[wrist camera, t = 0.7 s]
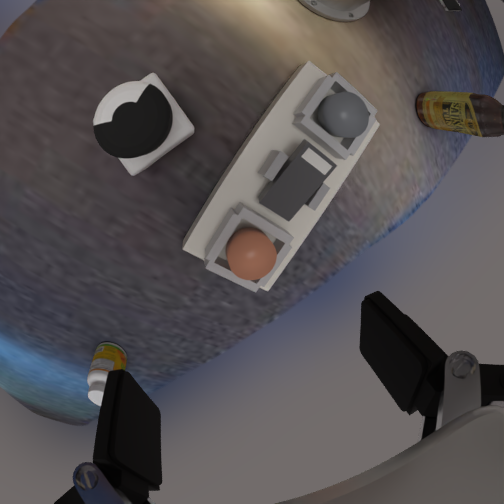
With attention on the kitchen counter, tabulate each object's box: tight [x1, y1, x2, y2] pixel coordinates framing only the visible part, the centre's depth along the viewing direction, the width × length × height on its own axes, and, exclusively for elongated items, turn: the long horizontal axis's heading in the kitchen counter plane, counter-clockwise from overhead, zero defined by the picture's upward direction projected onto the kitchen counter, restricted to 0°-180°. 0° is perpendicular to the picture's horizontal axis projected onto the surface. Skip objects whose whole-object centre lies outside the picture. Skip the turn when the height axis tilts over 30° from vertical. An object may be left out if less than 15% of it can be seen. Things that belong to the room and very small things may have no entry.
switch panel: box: [183, 61, 380, 292], centre depth 29 cm, size 26×12×6 cm, turn 146°
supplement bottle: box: [87, 342, 127, 406], centre depth 33 cm, size 5×5×10 cm
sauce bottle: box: [416, 91, 504, 137], centre depth 23 cm, size 7×6×20 cm
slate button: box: [317, 92, 369, 138], centre depth 25 cm, size 5×5×2 cm
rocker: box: [258, 139, 337, 222], centre depth 27 cm, size 8×4×2 cm, turn 146°
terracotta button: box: [226, 227, 277, 280], centre depth 29 cm, size 5×5×2 cm
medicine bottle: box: [93, 73, 195, 176], centre depth 21 cm, size 7×7×12 cm
